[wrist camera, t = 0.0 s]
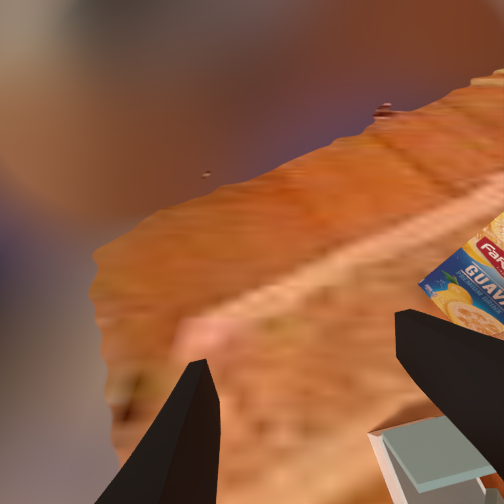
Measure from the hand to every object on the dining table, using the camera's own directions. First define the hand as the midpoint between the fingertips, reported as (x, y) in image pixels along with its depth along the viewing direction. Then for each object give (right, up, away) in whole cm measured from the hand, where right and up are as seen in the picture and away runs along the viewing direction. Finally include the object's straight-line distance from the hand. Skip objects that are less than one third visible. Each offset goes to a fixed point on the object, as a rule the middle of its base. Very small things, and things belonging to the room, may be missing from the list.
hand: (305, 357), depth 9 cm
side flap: (+18, -18, +17) cm, 30 cm away
